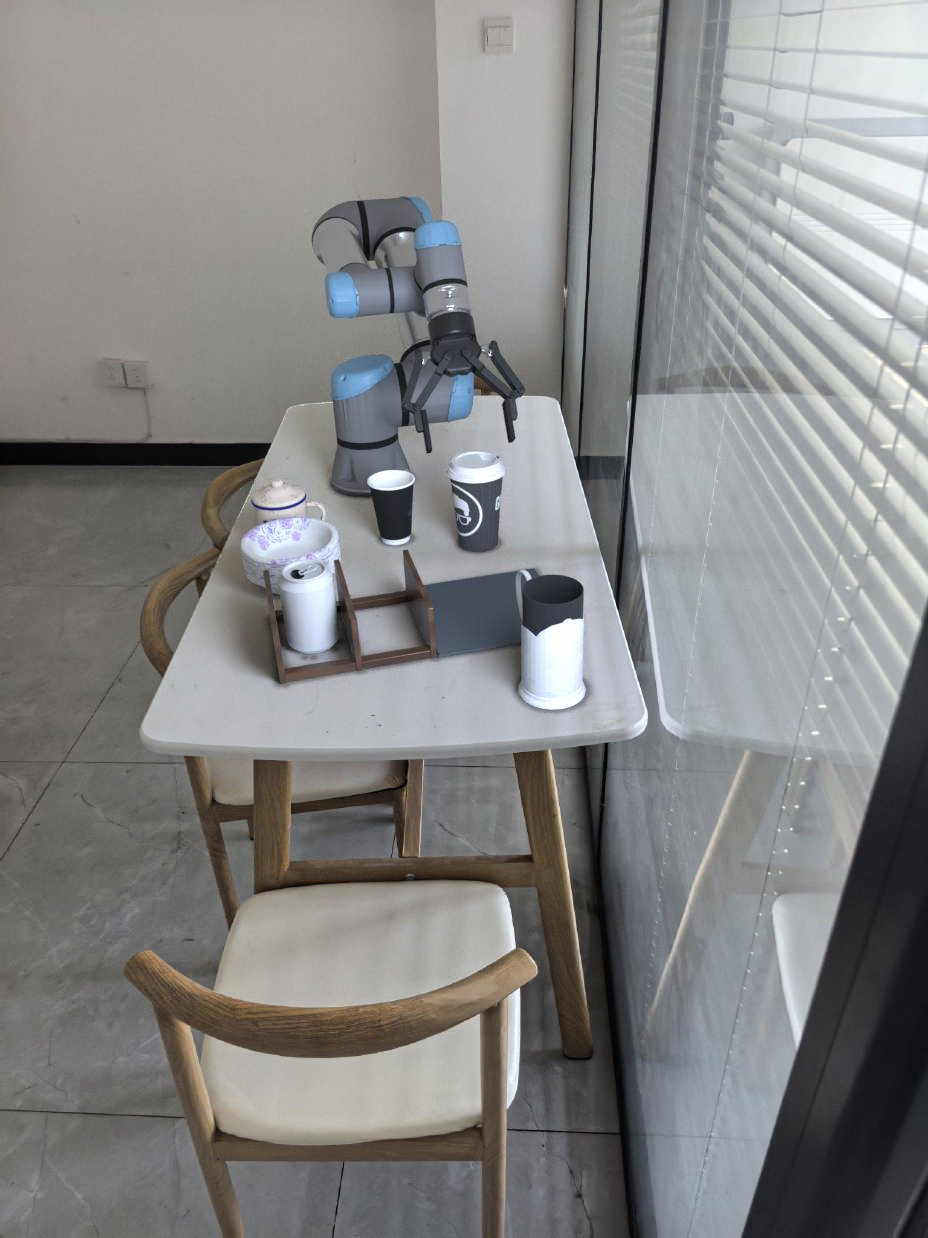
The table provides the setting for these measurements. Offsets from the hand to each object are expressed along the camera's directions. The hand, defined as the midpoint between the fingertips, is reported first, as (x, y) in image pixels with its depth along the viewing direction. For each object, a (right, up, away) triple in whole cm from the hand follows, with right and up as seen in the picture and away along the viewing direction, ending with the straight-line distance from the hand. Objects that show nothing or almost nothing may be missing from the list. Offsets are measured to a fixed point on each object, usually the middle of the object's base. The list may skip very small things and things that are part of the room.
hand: (470, 446), depth 156 cm
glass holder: (+9, -36, -28) cm, 47 cm away
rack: (-17, -30, -17) cm, 39 cm away
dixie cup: (-13, -14, +9) cm, 21 cm away
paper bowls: (-28, -22, -3) cm, 36 cm away
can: (-22, -31, -18) cm, 43 cm away
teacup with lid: (-30, -15, +9) cm, 35 cm away
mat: (+3, -27, -13) cm, 30 cm away
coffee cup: (+1, -15, +7) cm, 17 cm away
